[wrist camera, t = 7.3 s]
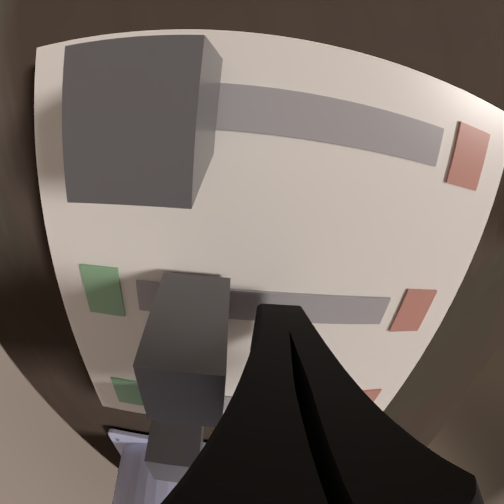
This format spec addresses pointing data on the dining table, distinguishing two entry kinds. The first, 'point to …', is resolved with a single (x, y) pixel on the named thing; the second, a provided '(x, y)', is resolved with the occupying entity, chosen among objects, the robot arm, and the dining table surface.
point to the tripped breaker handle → (185, 350)
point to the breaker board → (257, 198)
